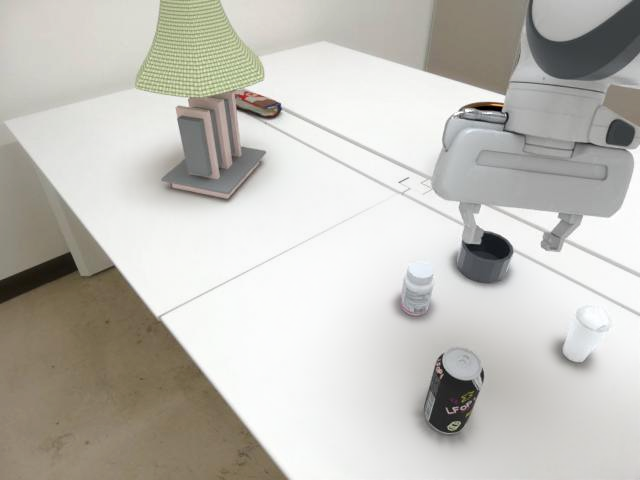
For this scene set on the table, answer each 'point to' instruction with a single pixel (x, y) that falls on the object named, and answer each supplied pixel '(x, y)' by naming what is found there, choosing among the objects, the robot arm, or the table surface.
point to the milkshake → (586, 332)
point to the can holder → (485, 258)
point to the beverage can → (453, 390)
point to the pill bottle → (417, 288)
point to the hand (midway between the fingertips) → (510, 246)
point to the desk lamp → (203, 92)
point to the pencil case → (257, 103)
